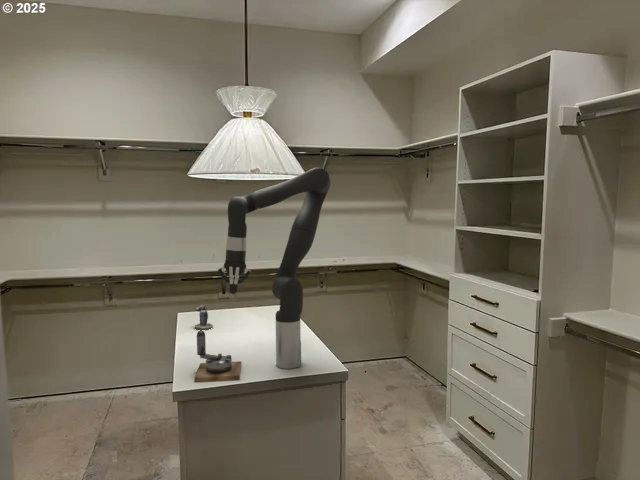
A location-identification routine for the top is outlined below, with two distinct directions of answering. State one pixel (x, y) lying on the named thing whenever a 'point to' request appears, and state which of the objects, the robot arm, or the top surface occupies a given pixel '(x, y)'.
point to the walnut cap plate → (228, 375)
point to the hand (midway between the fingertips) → (233, 293)
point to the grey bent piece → (212, 357)
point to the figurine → (203, 319)
